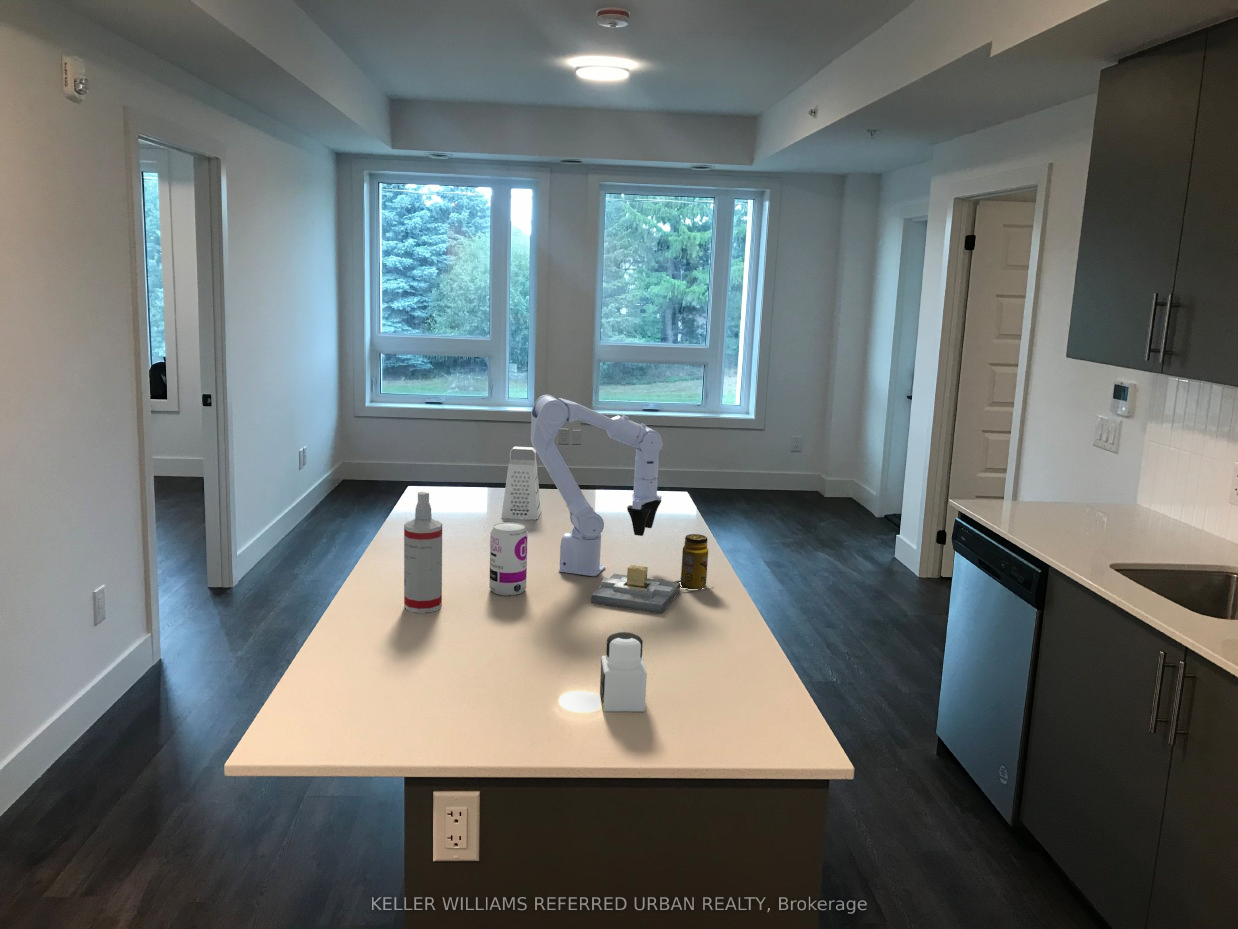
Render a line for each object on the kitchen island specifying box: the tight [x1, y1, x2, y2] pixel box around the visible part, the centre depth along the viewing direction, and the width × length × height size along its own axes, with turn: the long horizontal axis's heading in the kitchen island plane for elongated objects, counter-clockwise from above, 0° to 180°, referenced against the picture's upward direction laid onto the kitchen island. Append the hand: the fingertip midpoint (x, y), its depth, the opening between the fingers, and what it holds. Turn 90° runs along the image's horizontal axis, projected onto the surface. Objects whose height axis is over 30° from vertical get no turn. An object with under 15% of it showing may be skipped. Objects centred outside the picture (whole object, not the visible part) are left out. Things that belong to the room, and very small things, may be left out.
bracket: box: [600, 577, 673, 596], centre depth 213 cm, size 16×7×1 cm, turn 72°
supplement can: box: [489, 521, 529, 596], centre depth 213 cm, size 8×8×15 cm
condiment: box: [673, 533, 714, 593], centre depth 222 cm, size 7×8×12 cm
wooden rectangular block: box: [626, 564, 649, 588], centre depth 213 cm, size 4×2×7 cm, turn 72°
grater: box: [501, 446, 542, 520], centre depth 278 cm, size 10×10×20 cm
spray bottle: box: [403, 491, 443, 614], centre depth 199 cm, size 8×8×25 cm
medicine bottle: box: [599, 631, 648, 713], centre depth 160 cm, size 7×7×12 cm
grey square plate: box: [590, 573, 681, 615], centre depth 213 cm, size 16×16×2 cm
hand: (643, 531), depth 233 cm, fingers open, 7 cm apart
